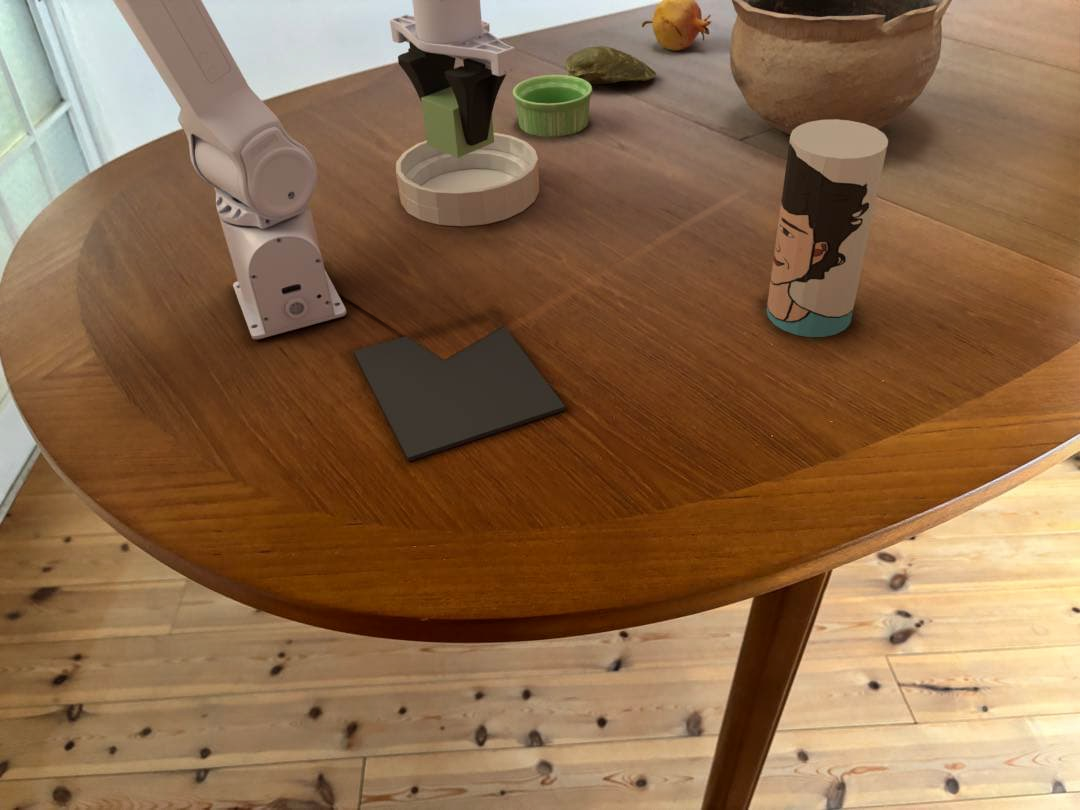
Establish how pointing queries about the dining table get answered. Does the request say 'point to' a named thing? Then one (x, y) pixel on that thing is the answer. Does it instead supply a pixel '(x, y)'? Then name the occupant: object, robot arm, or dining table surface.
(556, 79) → the ramekin
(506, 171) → the basin
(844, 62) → the ceramic bowl
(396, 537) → the dining table surface
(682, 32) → the fruit
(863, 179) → the cup
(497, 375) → the mat
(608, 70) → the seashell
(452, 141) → the green block
